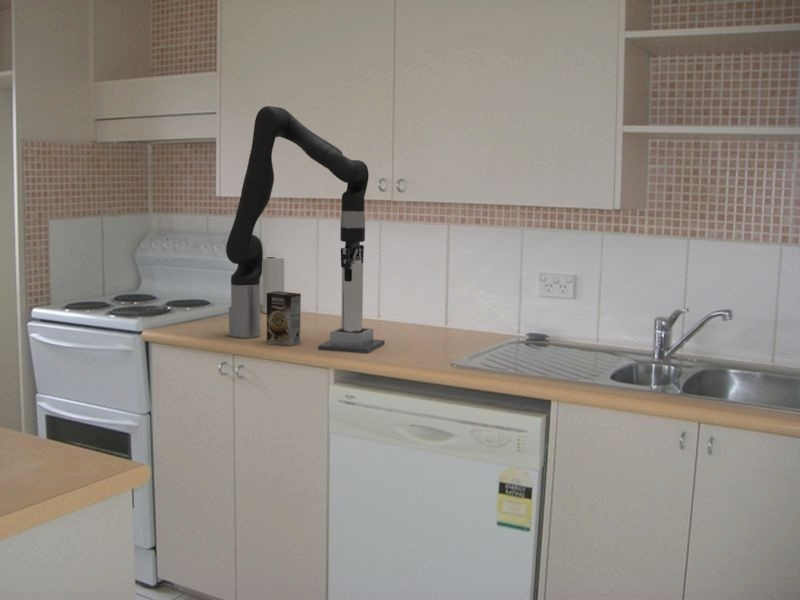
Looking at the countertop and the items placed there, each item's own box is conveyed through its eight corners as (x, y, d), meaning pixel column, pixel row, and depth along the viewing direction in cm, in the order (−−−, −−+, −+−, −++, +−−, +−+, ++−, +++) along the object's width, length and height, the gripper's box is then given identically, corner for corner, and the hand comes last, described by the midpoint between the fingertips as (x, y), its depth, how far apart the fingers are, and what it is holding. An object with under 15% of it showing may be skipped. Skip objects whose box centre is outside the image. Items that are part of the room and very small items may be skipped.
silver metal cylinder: (359, 341, 275) (360, 260, 271) (338, 340, 276) (339, 260, 272) (364, 338, 281) (365, 258, 277) (344, 337, 282) (345, 258, 279)
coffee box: (265, 343, 282) (265, 292, 279) (277, 340, 287) (276, 290, 285) (290, 346, 278) (290, 295, 275) (301, 343, 283) (301, 292, 281)
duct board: (318, 349, 274) (318, 332, 273) (337, 340, 289) (337, 324, 288) (367, 353, 269) (367, 336, 268) (384, 344, 284) (384, 327, 283)
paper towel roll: (259, 313, 342) (259, 257, 339) (271, 311, 346) (271, 256, 343) (272, 315, 337) (272, 258, 334) (284, 313, 342) (284, 257, 339)
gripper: (349, 224, 281) (349, 277, 284) (332, 226, 268) (332, 282, 270) (372, 225, 279) (371, 278, 281) (355, 227, 265) (355, 283, 268)
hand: (352, 279), depth 276 cm, fingers closed on silver metal cylinder, 6 cm apart
